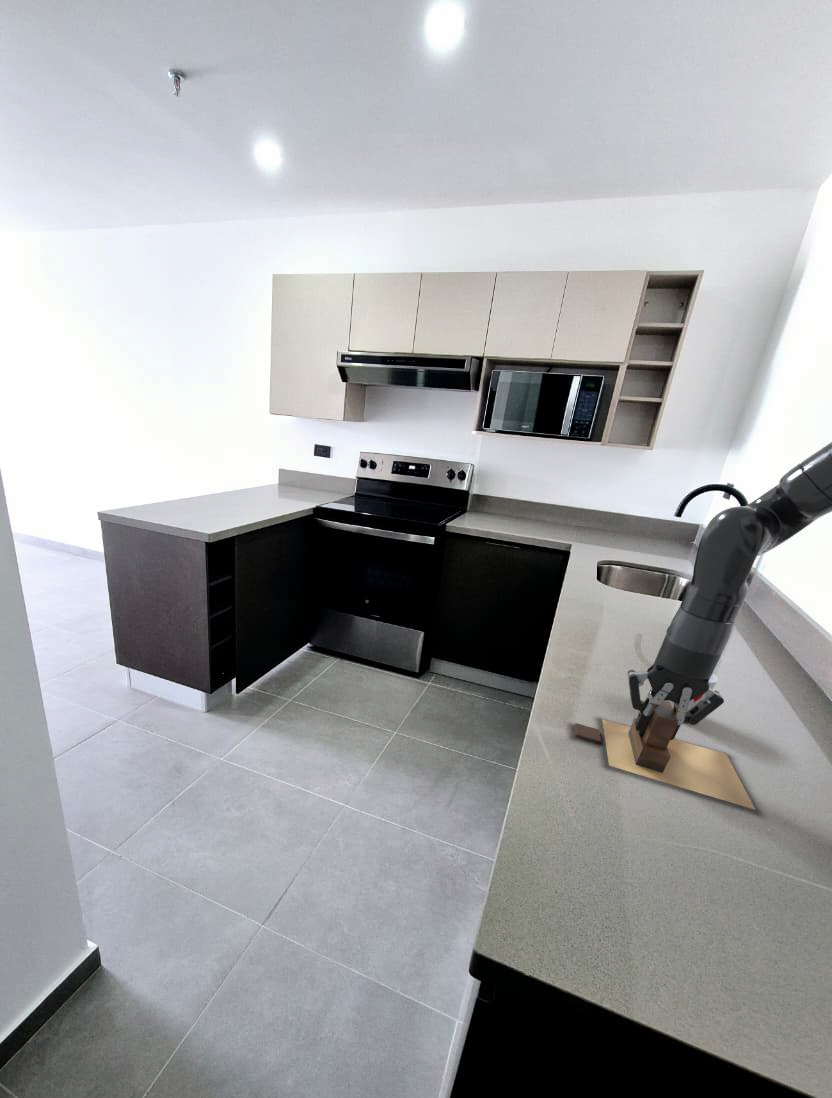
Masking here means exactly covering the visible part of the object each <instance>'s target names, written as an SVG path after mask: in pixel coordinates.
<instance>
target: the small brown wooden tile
mask: <svg viewBox="0 0 832 1098" xmlns="http://www.w3.org/2000/svg"><path fill="white" fill-rule="evenodd" d="M574 736H575V738H577V739H581V740H584V741H588V742H591V743H594V744H598V745H601V743H602V738H601V731H600V729H598V728H595V727H591V726H588V725H584V724H581V723H577V722H575V724H574Z"/></svg>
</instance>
